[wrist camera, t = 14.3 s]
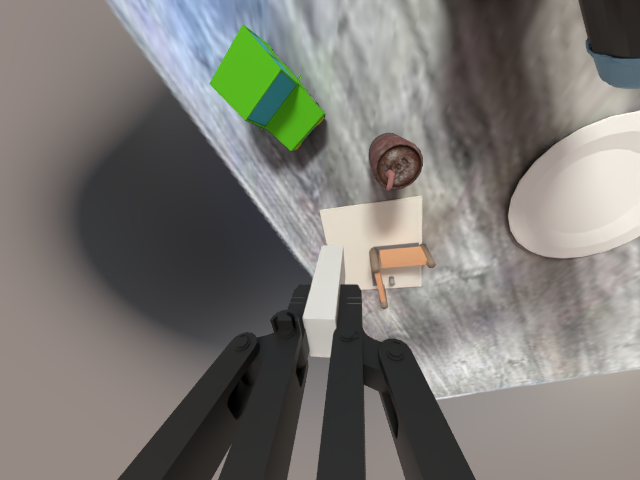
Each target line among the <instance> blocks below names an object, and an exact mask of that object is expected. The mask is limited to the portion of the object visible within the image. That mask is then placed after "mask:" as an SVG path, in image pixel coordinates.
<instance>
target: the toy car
mask: <svg viewBox="0 0 640 480" xmlns="http://www.w3.org/2000/svg"><path fill="white" fill-rule="evenodd" d="M301 78H302V75H301V76H300V77H299V79H297V77H296V76H295V75H294V74H293V73H292V72H291V70H290V69H289V68H288V67H287V66H286V65H285V64H284V63H283V62H282V60H281V59H280V58H279V57H278V56H277V55H276V54H275V53H274V52H273V49H272V48H271V47H270V46H269V44H267V43H266V42H265V41H264V40H262V39H261V38H260V37H258V36H257V35H256V34H255V33H253V32H252V31H251V30H250V29H248V28H247V27H246V26H245V25H242V27H241V29H240V30H239V32H238V34H237V36H236V37H235V39H234V41H233V43H232V45H231V46H230V48H229V50H228V52H227V53H226V55H225V57H224V59H223V61H222V62H221V64H220V66H219V68H218V69H217V71H216V73H215V75H214V77H213V78H212V80H211V82H210V85H211V86H212V87H213V88H214V89H215V90H216V91H217V92H218V93H219V94H220V95H221V96H222V97H223V98H224V99H225V100H226V101H227V102H228V103H229V104H230V105H231V107H232V108H233V109H234V110H235V111H236V112H237V113H238V114H239V115H240V116H241V117H242V118H243V119H244V120H245V121H248V122H250V123H253V124H255V125H258V126H261V127H262V128H261V129H260V130H259V131H260V132H261V131H262V130H263V128H266V129H267V130H268V131H269V132H270V133H271V134H272V135H274V136H275V137H276V138H277V139H278V140H279V141H280V142H281V143H282V144H283V145H285V146H286V147H287V148H288V149H289V150H290V151H292V150H293V151H294V150H296V149H298V147H299V146H300V145H301V143H302V142H303V141H304V140H305V139H306V138H307V136H308V135H309V134H310V133H311V132H312V131H313V130H314V129H315V127H316V126H317V125H319V124H320V123H321V122H322V120H323V118H324V117H325V112H324V111H323V110H322V109H321V107H320V106H319V105H318V103H317V102H316V101H315V99H314V98H313V97H312V96H311V95H310V94H309V93H308V92H307V89H306V88H305V87H304V86H303V85H302V83H301V82H300V79H301Z"/></svg>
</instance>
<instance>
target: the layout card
mask: <svg viewBox="0 0 640 480" xmlns="http://www.w3.org/2000/svg"><path fill="white" fill-rule="evenodd" d="M320 214H321V219H322V223H323V228H324V233H325V237H326V242H327V246H329V245H343V249H344V262H345V276H346V277H345V284H358V286H359V287H360V289H361V290H367V289H378V286H377V282H376V278H375V274H374V272H372V270H371V259H370V249H371V248H376V249H377V252H378V259H379V266H380V272H381V276H382V281H383V284H384V285H385V288H403V287H420V286H421V284H422V265H416V266H403V267H390V268H382V266H381V260H380V254H379V250H386V249H397V248H407V247H418V246H419V245H420V244H422V196H416V197H409V198H402V199H395V200H388V201H380V202H373V203H366V204H359V205H352V206H345V207H338V208H331V209H323V210H320Z"/></svg>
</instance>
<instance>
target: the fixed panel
mask: <svg viewBox="0 0 640 480" xmlns="http://www.w3.org/2000/svg"><path fill="white" fill-rule="evenodd" d="M379 254H380V260H381V266H382V268H390V267H403V266H416V265H427V266H428V267H429V268H433V267H435V265H436V264H435V262H434V260H433V258H432V256H431V254H430V252H429V250H428V248H427V246H426V245H425V244H420V245H419V246H418V247H407V248H397V249H386V250H379ZM370 259H371V270H372V272H374V273H378V272H379V271H380V266H379V259H378V252H377V249H376V248H371V249H370Z"/></svg>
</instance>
